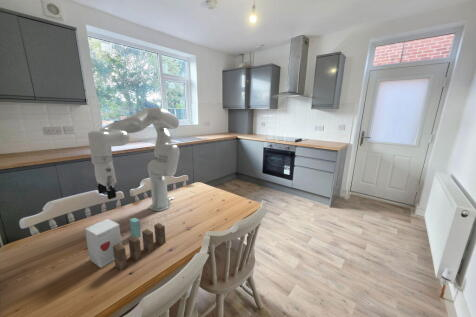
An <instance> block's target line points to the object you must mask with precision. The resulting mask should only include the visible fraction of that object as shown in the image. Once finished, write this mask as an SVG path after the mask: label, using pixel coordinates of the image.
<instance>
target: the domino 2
mask: <svg viewBox="0 0 476 317" xmlns="http://www.w3.org/2000/svg"><path fill="white" fill-rule="evenodd" d="M129 225H130V226H129V227H130V234H131V236H130V237H132V236H135V237H137V238H139V239H140V238H141V236H142V231H141V224H140V219H138V218H136V217H132V218H129Z"/></svg>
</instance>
